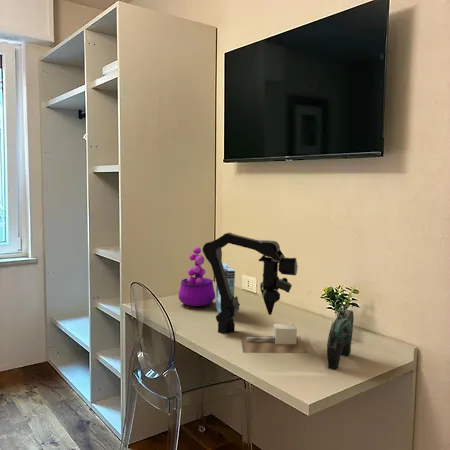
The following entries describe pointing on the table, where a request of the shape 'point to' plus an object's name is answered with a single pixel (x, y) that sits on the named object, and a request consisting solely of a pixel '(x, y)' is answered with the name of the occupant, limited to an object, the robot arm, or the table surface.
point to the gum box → (231, 279)
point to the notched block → (285, 333)
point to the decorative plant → (196, 284)
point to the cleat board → (270, 345)
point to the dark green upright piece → (340, 337)
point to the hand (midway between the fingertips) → (268, 311)
